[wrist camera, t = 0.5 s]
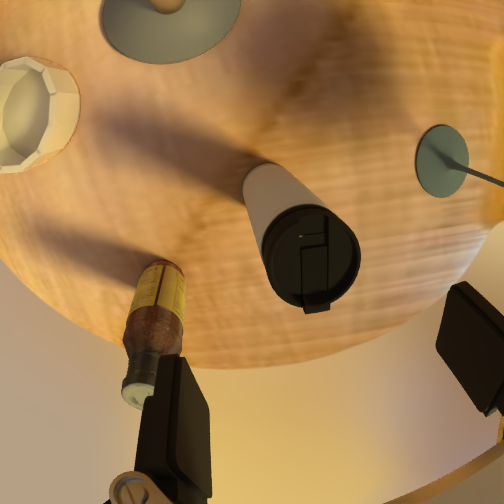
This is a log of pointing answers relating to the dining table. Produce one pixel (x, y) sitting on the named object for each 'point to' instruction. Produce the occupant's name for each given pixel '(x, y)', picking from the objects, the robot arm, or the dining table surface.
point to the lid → (167, 27)
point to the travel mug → (299, 239)
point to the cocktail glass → (445, 162)
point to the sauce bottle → (153, 328)
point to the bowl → (35, 112)
